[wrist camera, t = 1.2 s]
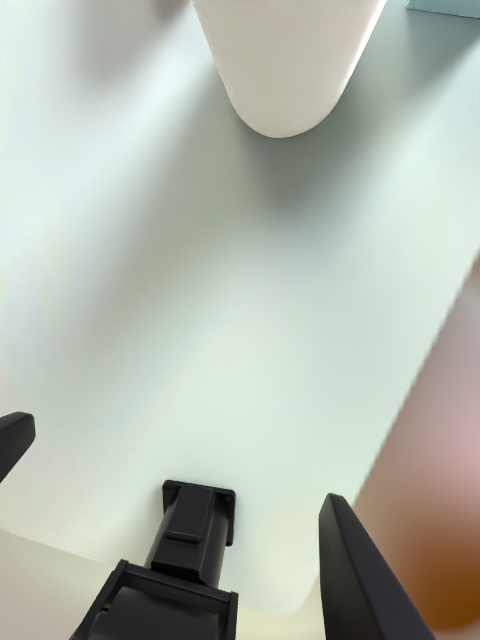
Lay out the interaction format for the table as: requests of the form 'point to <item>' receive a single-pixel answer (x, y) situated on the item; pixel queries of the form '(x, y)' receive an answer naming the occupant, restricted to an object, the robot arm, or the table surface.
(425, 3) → the box
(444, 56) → the table surface
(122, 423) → the table surface
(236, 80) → the can
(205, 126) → the table surface
